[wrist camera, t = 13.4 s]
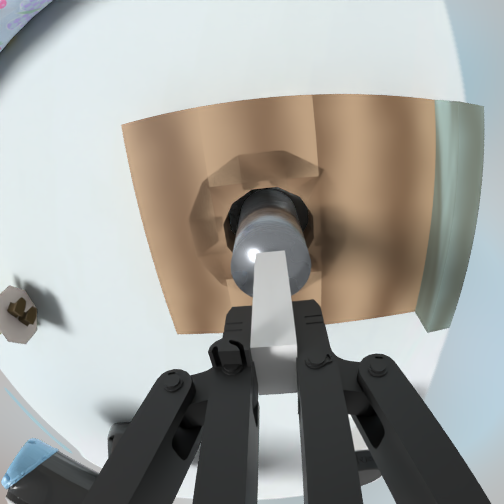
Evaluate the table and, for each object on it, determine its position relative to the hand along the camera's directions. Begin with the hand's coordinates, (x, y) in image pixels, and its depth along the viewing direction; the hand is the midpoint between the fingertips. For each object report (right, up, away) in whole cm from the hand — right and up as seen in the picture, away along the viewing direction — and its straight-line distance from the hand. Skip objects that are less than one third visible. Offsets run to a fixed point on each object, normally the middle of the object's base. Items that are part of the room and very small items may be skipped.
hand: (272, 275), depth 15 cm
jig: (+3, +4, +8) cm, 9 cm away
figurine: (-34, -5, +14) cm, 37 cm away
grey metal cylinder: (0, +4, +8) cm, 9 cm away
